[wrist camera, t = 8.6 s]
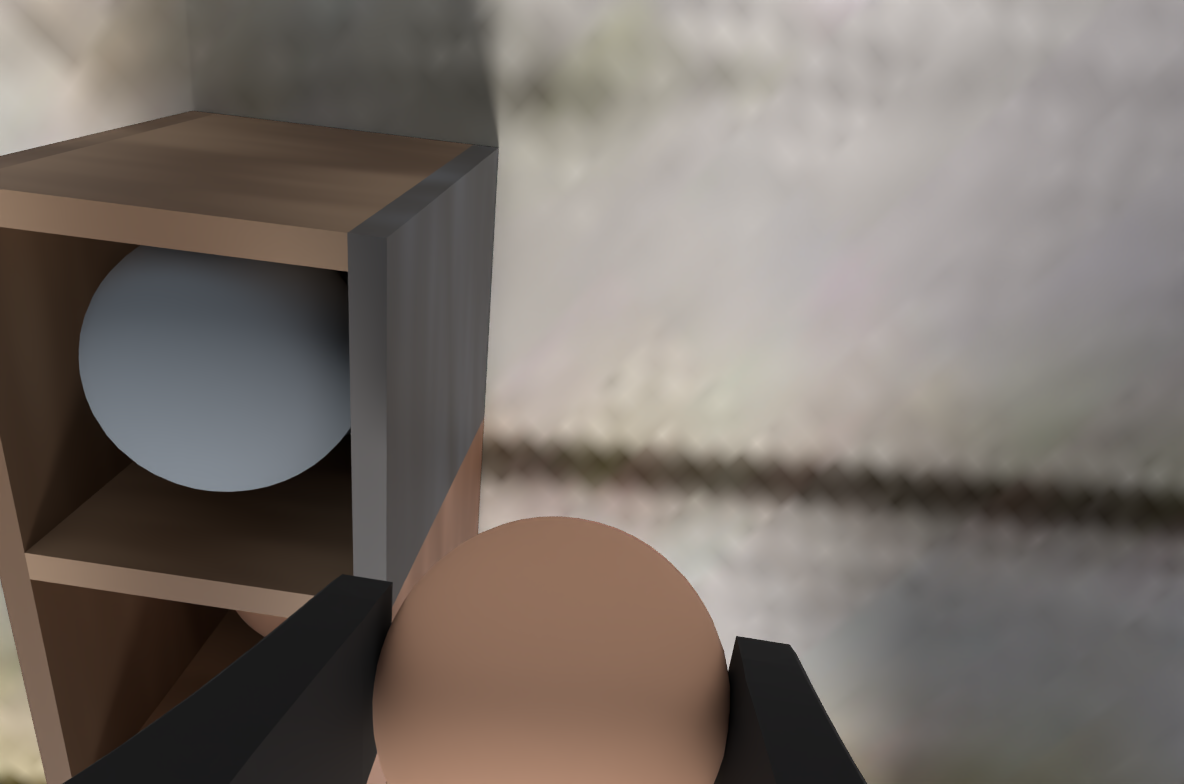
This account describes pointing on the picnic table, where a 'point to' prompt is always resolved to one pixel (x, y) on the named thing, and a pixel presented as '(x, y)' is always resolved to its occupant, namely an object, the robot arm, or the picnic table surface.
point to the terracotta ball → (552, 665)
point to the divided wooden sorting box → (241, 518)
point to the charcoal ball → (218, 366)
